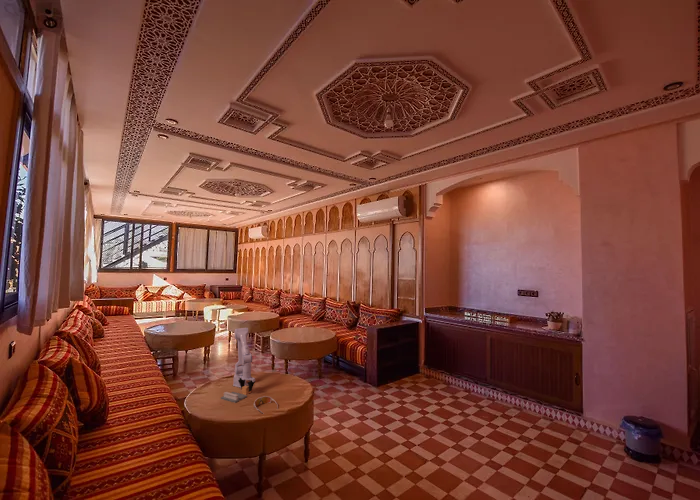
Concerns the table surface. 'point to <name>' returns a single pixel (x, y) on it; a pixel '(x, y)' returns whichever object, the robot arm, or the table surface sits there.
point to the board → (233, 396)
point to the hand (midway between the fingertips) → (246, 390)
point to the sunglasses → (263, 401)
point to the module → (245, 390)
